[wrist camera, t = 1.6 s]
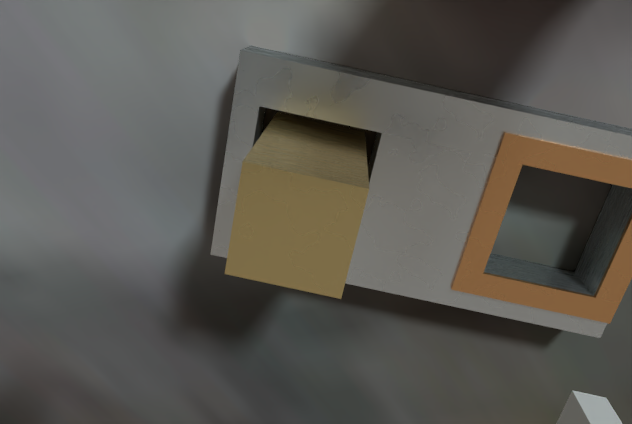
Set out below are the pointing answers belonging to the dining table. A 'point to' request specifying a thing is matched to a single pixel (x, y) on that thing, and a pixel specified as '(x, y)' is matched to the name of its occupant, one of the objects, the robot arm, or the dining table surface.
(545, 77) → the dining table surface
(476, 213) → the grey shape sorter board
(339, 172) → the tan rectangular block
